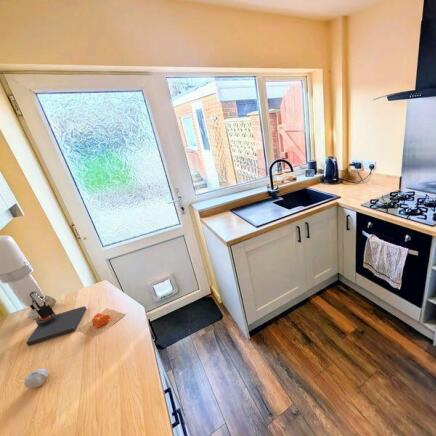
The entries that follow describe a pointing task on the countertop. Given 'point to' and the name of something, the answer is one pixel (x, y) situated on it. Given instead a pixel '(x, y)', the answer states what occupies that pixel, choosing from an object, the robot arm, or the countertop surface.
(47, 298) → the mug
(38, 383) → the garlic
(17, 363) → the countertop surface
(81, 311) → the scale
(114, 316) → the shallow wooden dish
